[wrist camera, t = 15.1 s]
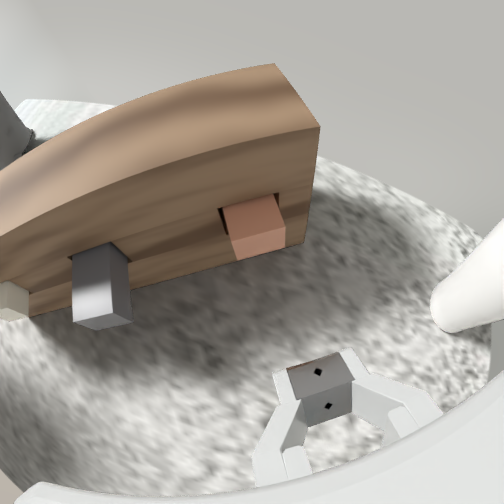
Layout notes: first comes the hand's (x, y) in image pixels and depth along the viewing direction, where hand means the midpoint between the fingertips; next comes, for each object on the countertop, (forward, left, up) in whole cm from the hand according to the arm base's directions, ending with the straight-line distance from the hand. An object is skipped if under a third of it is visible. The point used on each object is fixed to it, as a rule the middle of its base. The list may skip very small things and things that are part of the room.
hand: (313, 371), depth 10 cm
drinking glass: (+7, -15, -14) cm, 21 cm away
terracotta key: (+10, +5, -8) cm, 14 cm away
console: (+9, +17, -13) cm, 24 cm away
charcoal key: (+3, +15, -8) cm, 17 cm away
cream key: (+1, +27, -8) cm, 28 cm away
